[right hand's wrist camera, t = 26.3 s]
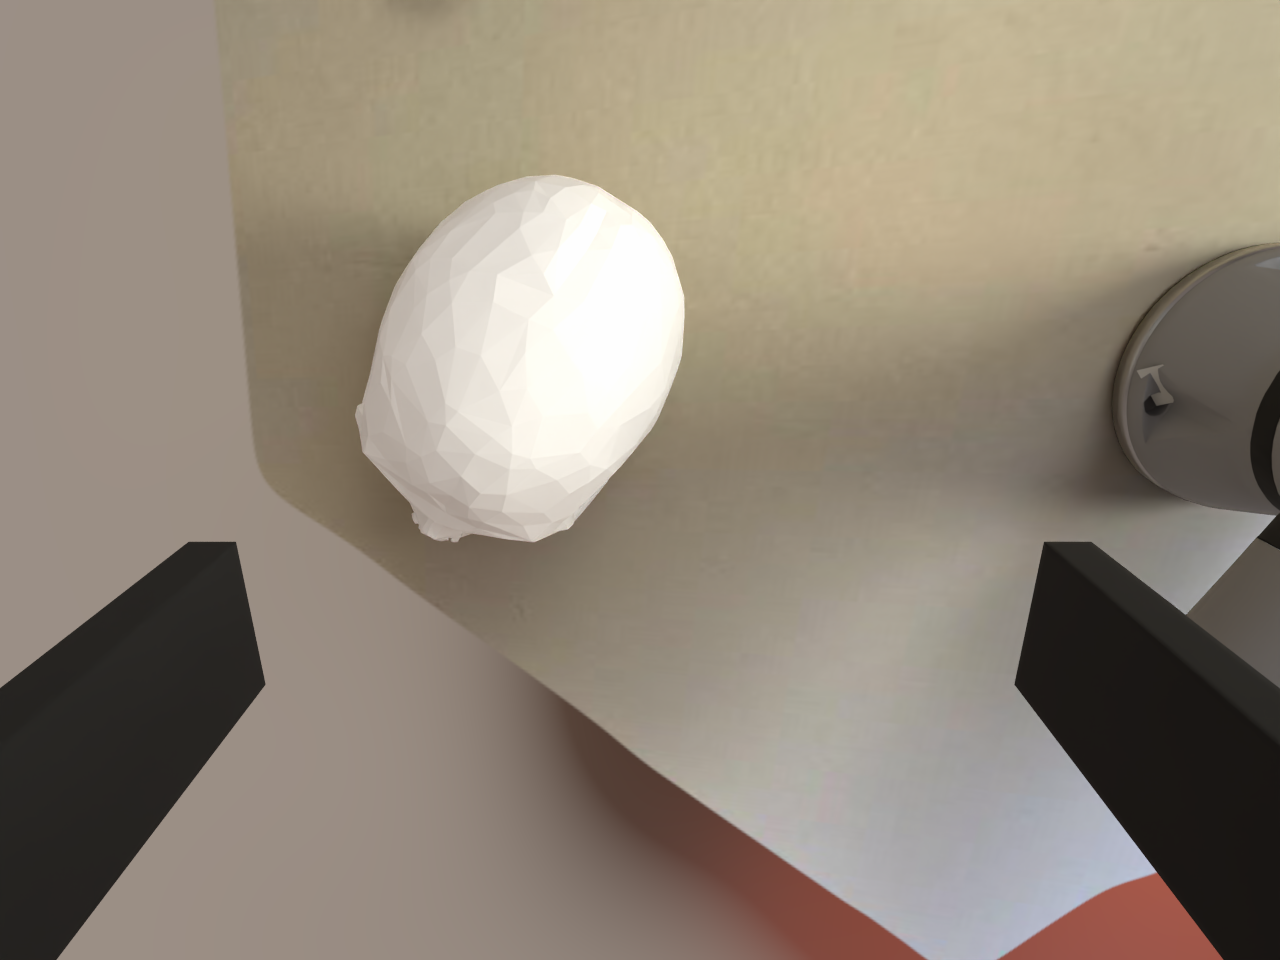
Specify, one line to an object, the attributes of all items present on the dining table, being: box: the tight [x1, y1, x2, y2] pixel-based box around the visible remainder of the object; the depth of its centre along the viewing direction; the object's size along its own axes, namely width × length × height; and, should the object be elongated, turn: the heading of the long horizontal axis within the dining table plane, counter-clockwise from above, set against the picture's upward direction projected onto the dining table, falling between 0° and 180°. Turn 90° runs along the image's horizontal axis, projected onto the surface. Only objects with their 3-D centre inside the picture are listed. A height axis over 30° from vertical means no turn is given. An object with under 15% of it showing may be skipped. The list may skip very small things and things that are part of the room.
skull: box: [355, 175, 684, 542], centre depth 37 cm, size 13×22×16 cm, turn 153°
